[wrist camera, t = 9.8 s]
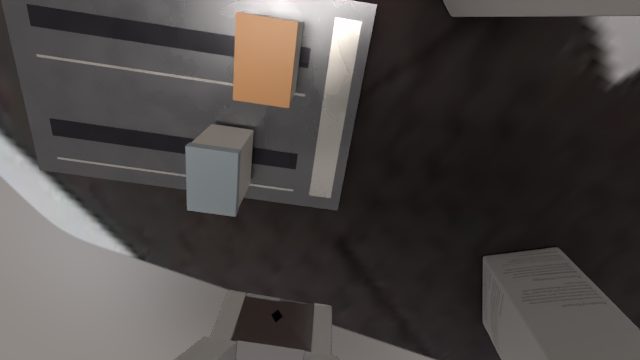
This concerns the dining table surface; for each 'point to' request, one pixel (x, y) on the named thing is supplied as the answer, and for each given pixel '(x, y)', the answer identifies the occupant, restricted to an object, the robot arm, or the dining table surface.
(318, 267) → the dining table surface
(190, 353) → the robot arm
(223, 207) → the fader
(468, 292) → the dining table surface
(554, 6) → the milk carton
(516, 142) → the dining table surface
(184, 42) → the console
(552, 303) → the skincare box
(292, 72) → the fader
